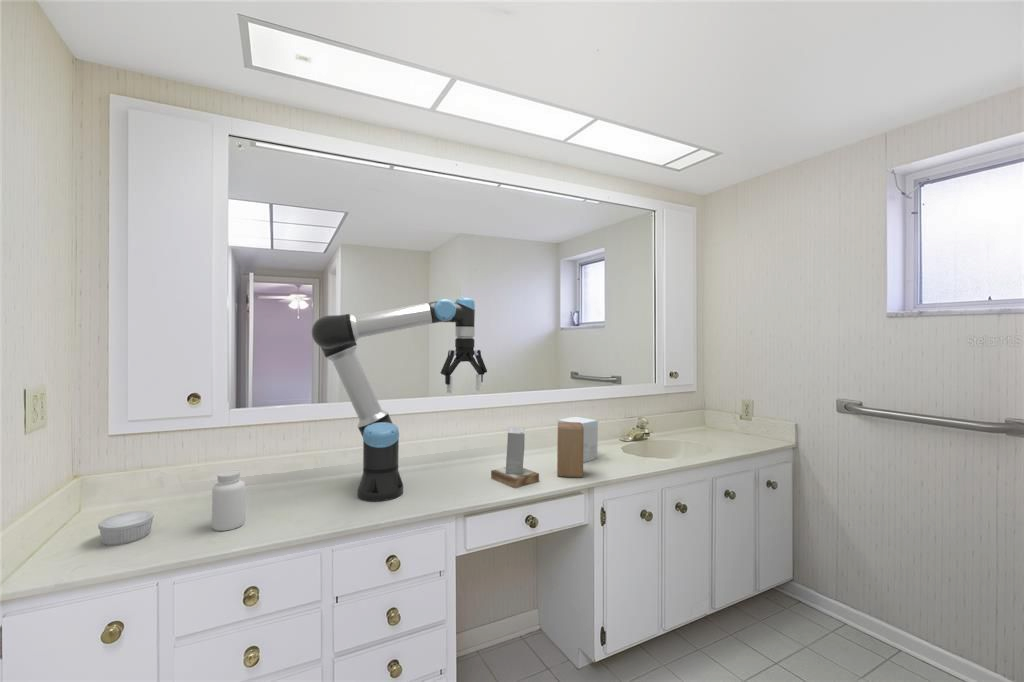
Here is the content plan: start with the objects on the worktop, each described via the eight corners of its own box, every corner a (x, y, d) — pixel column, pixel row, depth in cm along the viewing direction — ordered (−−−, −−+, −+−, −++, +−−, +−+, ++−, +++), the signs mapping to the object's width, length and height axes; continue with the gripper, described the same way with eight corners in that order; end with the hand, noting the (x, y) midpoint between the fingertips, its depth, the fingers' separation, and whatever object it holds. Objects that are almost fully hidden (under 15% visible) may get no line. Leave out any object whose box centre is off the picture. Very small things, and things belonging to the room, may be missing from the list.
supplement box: (575, 452, 208) (575, 416, 208) (598, 458, 199) (598, 420, 199) (556, 457, 199) (556, 419, 199) (579, 464, 190) (579, 423, 190)
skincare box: (506, 467, 172) (506, 427, 172) (524, 468, 172) (524, 427, 172) (505, 474, 163) (505, 431, 163) (524, 474, 163) (525, 432, 163)
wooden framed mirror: (514, 488, 158) (514, 478, 158) (491, 478, 169) (491, 469, 169) (538, 481, 166) (538, 472, 166) (515, 472, 177) (515, 464, 177)
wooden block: (581, 470, 180) (582, 422, 180) (583, 478, 170) (583, 426, 170) (557, 469, 181) (557, 421, 181) (557, 477, 171) (557, 426, 171)
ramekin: (132, 547, 112) (132, 526, 112) (85, 548, 111) (85, 527, 111) (163, 528, 123) (164, 509, 123) (121, 529, 122) (121, 510, 122)
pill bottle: (208, 533, 119) (209, 478, 119) (215, 522, 127) (215, 470, 127) (242, 529, 122) (243, 475, 122) (247, 518, 130) (247, 467, 130)
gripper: (484, 338, 184) (484, 388, 184) (432, 337, 168) (431, 393, 168) (495, 338, 178) (495, 390, 178) (442, 337, 162) (441, 395, 162)
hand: (464, 391), depth 173 cm, fingers open, 13 cm apart
